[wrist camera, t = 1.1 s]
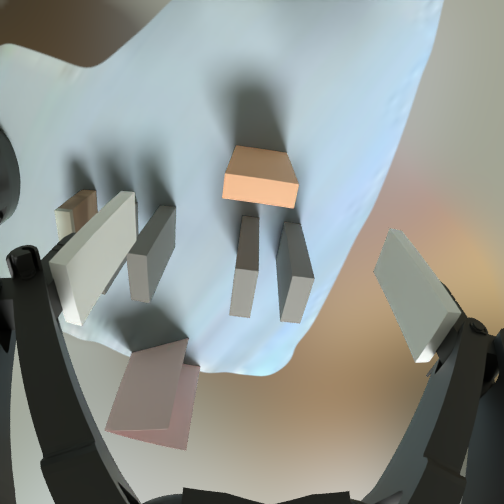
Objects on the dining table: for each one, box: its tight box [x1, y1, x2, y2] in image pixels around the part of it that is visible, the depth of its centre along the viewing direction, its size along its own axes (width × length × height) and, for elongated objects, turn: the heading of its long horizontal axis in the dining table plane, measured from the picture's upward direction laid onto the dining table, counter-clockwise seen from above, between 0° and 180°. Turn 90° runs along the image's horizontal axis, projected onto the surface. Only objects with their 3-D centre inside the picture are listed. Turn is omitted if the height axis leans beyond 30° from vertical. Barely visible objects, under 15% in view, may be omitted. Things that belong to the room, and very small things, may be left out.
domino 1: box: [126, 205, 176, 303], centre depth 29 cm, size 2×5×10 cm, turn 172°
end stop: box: [55, 190, 98, 241], centre depth 30 cm, size 2×7×6 cm, turn 172°
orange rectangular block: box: [222, 145, 299, 208], centre depth 25 cm, size 2×5×10 cm, turn 82°
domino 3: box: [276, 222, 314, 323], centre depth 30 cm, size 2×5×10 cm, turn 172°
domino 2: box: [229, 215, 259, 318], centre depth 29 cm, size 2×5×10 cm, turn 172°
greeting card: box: [105, 338, 200, 450], centre depth 37 cm, size 11×7×15 cm, turn 80°
